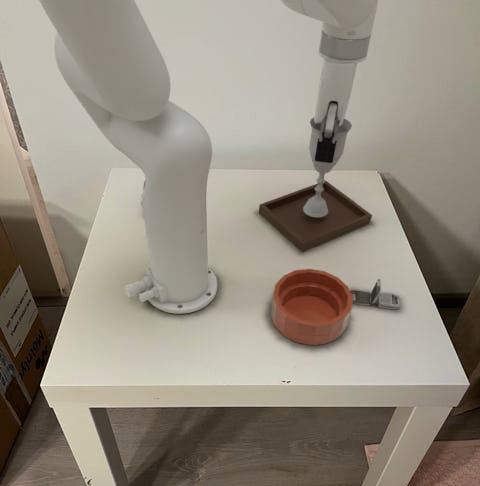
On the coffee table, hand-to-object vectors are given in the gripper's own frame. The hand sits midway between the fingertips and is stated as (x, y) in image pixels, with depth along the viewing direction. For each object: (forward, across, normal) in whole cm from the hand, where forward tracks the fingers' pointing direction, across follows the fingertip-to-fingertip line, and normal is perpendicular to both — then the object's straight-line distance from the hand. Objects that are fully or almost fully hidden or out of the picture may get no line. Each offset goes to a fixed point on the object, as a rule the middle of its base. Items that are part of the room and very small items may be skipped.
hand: (325, 150), depth 89 cm
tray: (+15, 0, 0) cm, 15 cm away
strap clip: (+15, +21, +13) cm, 29 cm away
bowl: (+15, +28, +2) cm, 31 cm away
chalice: (+13, 0, 0) cm, 13 cm away
